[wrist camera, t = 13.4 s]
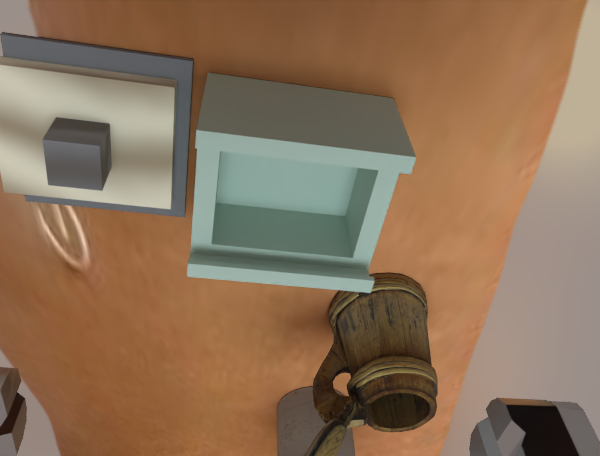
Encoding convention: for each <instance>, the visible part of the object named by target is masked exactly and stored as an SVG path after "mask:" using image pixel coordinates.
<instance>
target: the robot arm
mask: <svg viewBox="0 0 600 456" xmlns="http://www.w3.org/2000/svg"><path fill="white" fill-rule="evenodd" d="M20 383H21V378H20V375H19V371H18V368H6V367H5V368H4V367H0V456H16V455H17V453H18V450H19V447H20V444H21V441H22V439H23V434H24V429H25V424H26V411H27V407H26V402H25V398H24V397H23V396H22V395H20V394H19V393H18V392H17V390H18V388H19V385H20ZM486 411H487V414H488V418H486V419H484V420H482V421H480V422H479V423H477V425H476V426H475V428H474V430H473V432H472V434H471V439H470V448H469V449H470V456H600V441H599V439H598V437H597V435H596V433H595V431H594V429H593V427H592V425H591V423H590V422H589V420H588V418H587V416H586V414H585V412H584V410H583V409H582V408H581V407H580V406H579V405H578V404H577V403H573V402H555V401H553V402H552V401H547V400H534V399H512V398H511V399H510V398H496V399H494V400H492V401H491V402H490V403H489V405H488V406H487V408H486Z"/></svg>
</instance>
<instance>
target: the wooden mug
mask: <svg viewBox="0 0 600 456" xmlns="http://www.w3.org/2000/svg"><path fill="white" fill-rule="evenodd" d="M369 277H374V280H375V281H374V284H373V287H372V290H371V293H366V292H354V291H343V290H340V292H339V293H338V294H337V296H336V297H335V298H334V300H333V302H332V305H331V307H330V310H329V314H328V318H329V322H330V325H331V328H332V331H333V334H334V343H333V345H332V347H331V349H330V351H329V353H328V355H327V356H326V358H325V360H324V361H323V363H322V365H321V366H320V368H319V370H318V372H317V374H316V376H315V378H314V382H313V389H312V396H313V402H314V406H315V408H316V410H317V412H318V414H319V416H320V417H321V419H322V420H323V422H324V423H325V424H326V425H325V426H324V427H323V428H322V429H321V431H320V432H319V433H318V435H317V436H316V437H315V439H314V440H313V442H312V444H311V445H310V447H309V448H308V450H307V452H306V453H305V455H304V456H337V454H338V452H339V449H340V447H341V444H342V441H343V438H344V436H345V433H346V431H347V429H348V428H351V427H356V426H361V425H366V423H367V424H368V425H369V426H370V427H372V428H373V429H375V430H379V431H383V432H403V431H409V430H414V429H416V428H418V427H420V426H422V425H423V424H425V423H427V422H428V421H429V420H430V419H432V418H433V417H434V416H435V413H436V409H437V404H436V396H437V395H438V385H437V375H436V372H435V369H434V368H433V367H432V365H431V357H430V348H429V339H428V330H427V317H428V309H427V300H426V295H425V292H424V291H423V289H422V288H421V286H420V285H419V284H418V283H416V282H415V281H414V280H412V279H411V278H408V277H406V276H403V275H400V274H392V273H384V274H374V275H371V276H369ZM345 372H346V373H350V375H351V379H350V381H349V382H348V384H347V390H348V394H349V396H342V395H339V394H338V393H336V391H335V390H334V388H333V380H334V379H335V377H336V376H337V375H339V374H341V373H345Z"/></svg>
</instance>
